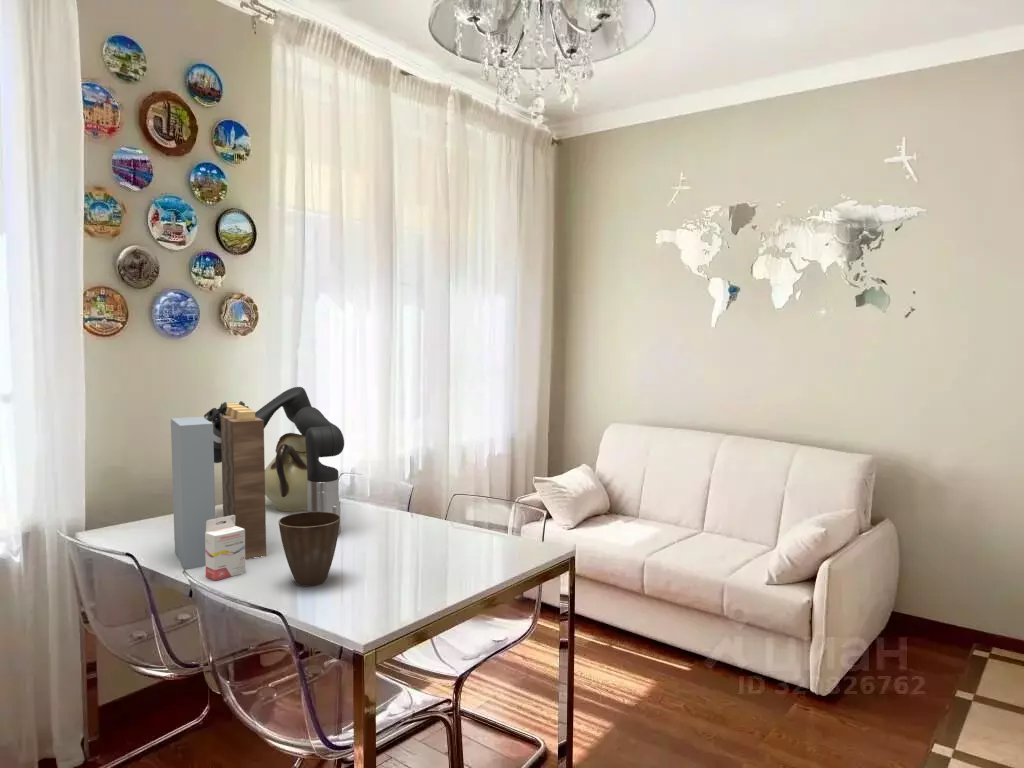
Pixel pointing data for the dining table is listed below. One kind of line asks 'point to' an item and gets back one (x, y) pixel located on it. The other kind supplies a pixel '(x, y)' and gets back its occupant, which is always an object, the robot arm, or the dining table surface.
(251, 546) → the walnut pillar
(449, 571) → the dining table surface
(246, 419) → the pine slat
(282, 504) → the pitcher
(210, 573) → the ink cartridge box
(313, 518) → the plant pot
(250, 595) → the dining table surface
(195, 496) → the slate grey pillar
